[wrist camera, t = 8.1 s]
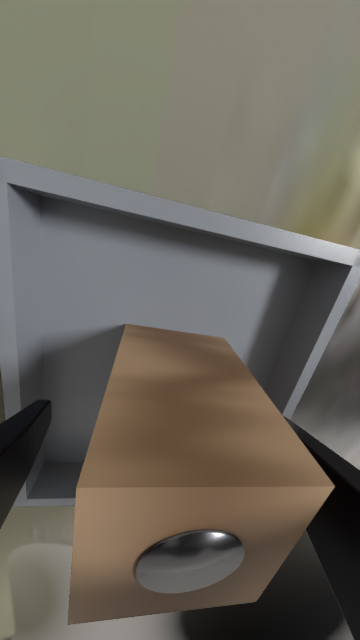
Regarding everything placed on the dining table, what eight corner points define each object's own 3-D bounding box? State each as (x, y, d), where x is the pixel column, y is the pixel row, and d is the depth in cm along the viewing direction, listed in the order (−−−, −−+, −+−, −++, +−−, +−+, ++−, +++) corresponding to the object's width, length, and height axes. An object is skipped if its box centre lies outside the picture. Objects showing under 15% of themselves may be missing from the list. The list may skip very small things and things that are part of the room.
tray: (323, 250, 10) (372, 253, 8) (234, 462, 15) (249, 501, 13) (30, 176, 8) (-21, 150, 6) (38, 458, 13) (13, 507, 11)
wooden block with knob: (224, 337, 11) (338, 491, 4) (201, 412, 12) (257, 606, 6) (125, 323, 10) (74, 493, 3) (115, 406, 11) (66, 630, 5)
